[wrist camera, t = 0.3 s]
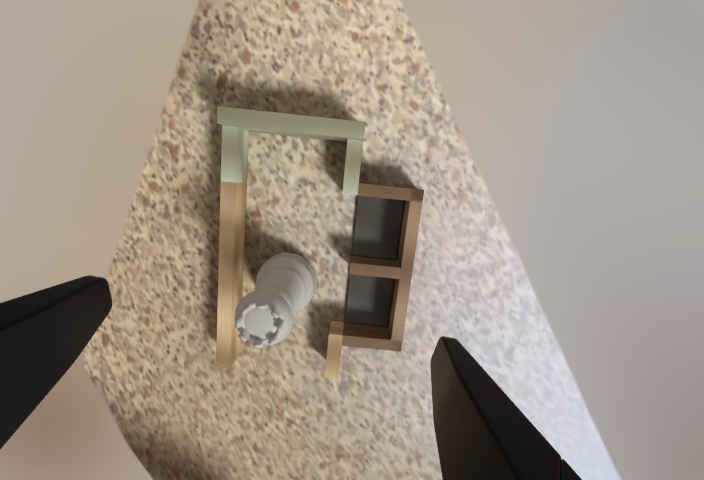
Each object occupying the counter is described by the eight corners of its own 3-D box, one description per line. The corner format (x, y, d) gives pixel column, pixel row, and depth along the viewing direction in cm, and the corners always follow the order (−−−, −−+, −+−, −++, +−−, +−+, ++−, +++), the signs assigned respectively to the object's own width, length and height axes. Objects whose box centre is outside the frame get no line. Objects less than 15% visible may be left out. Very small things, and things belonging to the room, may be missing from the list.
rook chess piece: (328, 292, 25) (316, 344, 17) (277, 315, 25) (242, 377, 18) (301, 240, 24) (275, 271, 16) (249, 266, 25) (199, 307, 17)
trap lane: (392, 367, 26) (397, 391, 23) (227, 351, 26) (211, 373, 23) (425, 135, 23) (435, 129, 20) (235, 115, 23) (217, 106, 20)
